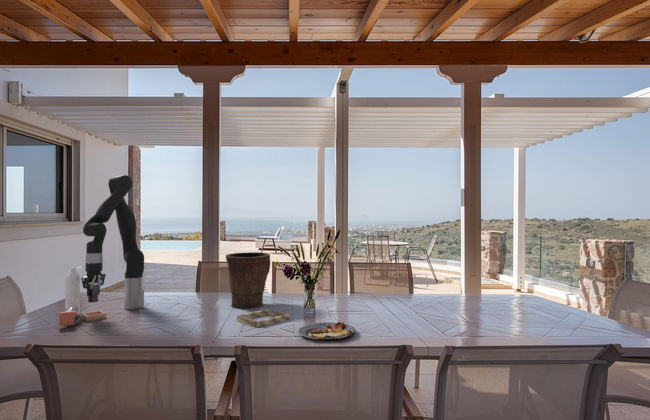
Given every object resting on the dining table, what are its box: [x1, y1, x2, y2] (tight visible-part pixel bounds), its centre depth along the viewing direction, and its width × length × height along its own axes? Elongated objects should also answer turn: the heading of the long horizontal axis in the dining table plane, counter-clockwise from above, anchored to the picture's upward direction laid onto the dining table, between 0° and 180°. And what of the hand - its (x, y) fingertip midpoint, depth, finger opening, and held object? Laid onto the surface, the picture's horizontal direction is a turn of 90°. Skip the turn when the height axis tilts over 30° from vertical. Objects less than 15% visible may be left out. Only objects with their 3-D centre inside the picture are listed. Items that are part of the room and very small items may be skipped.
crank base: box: [75, 318, 84, 325], centre depth 189 cm, size 9×9×1 cm
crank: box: [58, 307, 79, 327], centre depth 186 cm, size 12×6×6 cm, turn 22°
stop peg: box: [87, 281, 99, 303], centre depth 198 cm, size 4×4×10 cm
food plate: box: [298, 321, 356, 340], centre depth 171 cm, size 25×23×4 cm
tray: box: [80, 309, 107, 323], centre depth 197 cm, size 9×9×2 cm
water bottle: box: [64, 265, 83, 317], centre depth 204 cm, size 9×6×25 cm
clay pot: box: [225, 251, 271, 310], centre depth 229 cm, size 25×29×30 cm
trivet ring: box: [236, 308, 290, 328], centre depth 194 cm, size 21×18×2 cm
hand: (93, 295), depth 197 cm, fingers closed on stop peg, 4 cm apart
